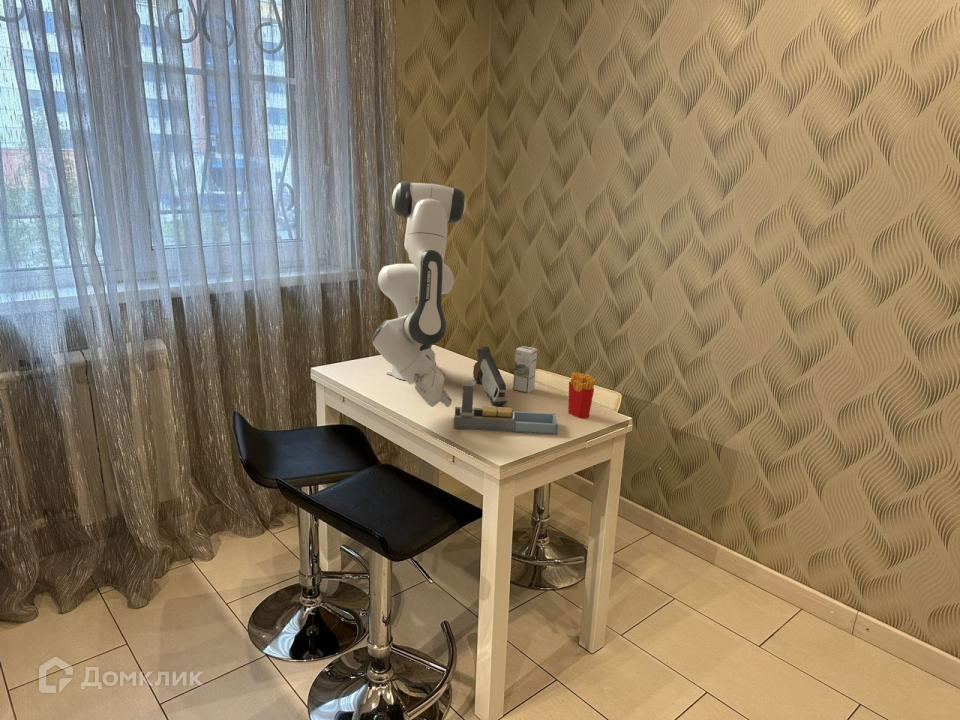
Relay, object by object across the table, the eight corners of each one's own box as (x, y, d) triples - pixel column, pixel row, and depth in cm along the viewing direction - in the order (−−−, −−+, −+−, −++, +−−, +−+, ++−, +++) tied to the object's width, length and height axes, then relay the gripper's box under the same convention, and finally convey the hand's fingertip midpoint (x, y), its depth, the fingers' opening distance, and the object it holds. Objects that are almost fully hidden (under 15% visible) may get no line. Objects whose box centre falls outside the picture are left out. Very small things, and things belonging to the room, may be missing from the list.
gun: (489, 423, 218) (496, 384, 210) (469, 374, 240) (474, 337, 232) (504, 422, 219) (511, 384, 211) (482, 373, 241) (488, 337, 233)
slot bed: (454, 417, 204) (455, 406, 203) (512, 421, 204) (512, 409, 203) (453, 428, 196) (454, 417, 195) (513, 431, 196) (514, 420, 195)
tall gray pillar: (459, 417, 201) (461, 381, 198) (473, 417, 202) (475, 382, 198) (459, 422, 198) (461, 385, 195) (473, 422, 198) (475, 386, 195)
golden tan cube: (482, 418, 202) (482, 406, 200) (495, 419, 202) (496, 406, 201) (481, 424, 198) (482, 411, 197) (495, 424, 198) (496, 411, 197)
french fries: (563, 411, 214) (567, 371, 211) (573, 408, 217) (577, 369, 213) (584, 420, 208) (589, 380, 204) (594, 418, 210) (599, 377, 206)
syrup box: (534, 389, 234) (538, 347, 229) (527, 393, 228) (531, 351, 224) (519, 385, 236) (522, 344, 232) (512, 390, 231) (515, 348, 227)
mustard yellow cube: (496, 419, 202) (497, 406, 201) (510, 420, 202) (511, 407, 201) (496, 424, 198) (497, 411, 197) (510, 425, 198) (511, 412, 197)
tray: (513, 420, 204) (514, 411, 204) (554, 422, 205) (554, 413, 204) (515, 432, 196) (515, 422, 195) (557, 434, 196) (558, 424, 195)
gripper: (422, 373, 185) (456, 409, 188) (428, 352, 204) (459, 385, 207) (404, 388, 186) (439, 424, 189) (412, 366, 206) (443, 398, 208)
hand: (450, 403), depth 198 cm, fingers closed
